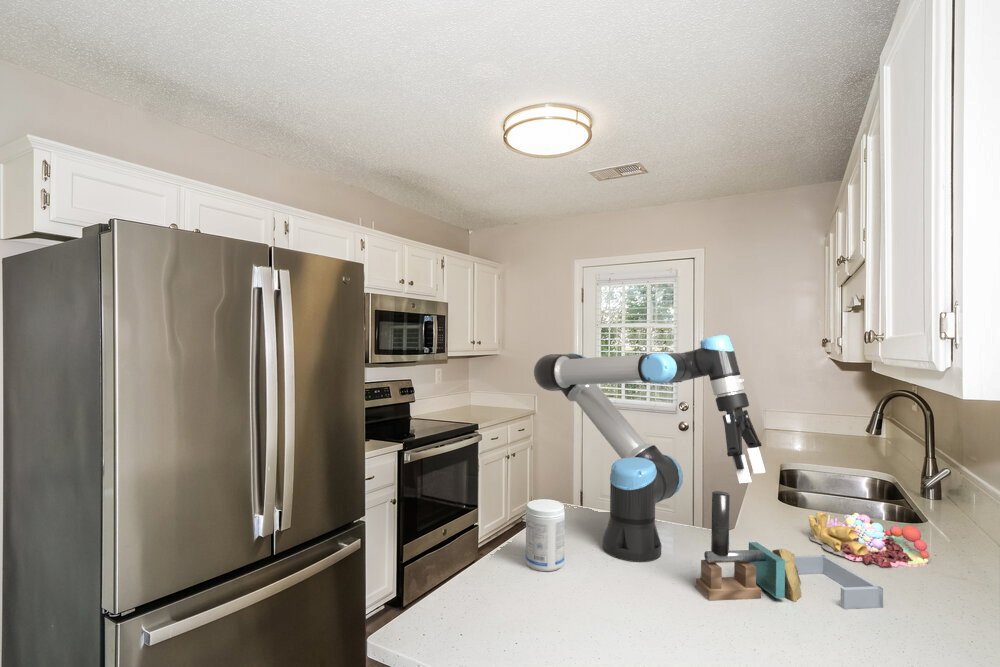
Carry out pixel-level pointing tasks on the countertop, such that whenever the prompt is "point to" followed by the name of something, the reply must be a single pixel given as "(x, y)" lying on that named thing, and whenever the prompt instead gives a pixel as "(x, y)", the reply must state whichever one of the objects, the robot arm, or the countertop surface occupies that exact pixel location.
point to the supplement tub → (545, 534)
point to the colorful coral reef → (868, 541)
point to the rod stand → (728, 582)
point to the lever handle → (764, 560)
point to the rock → (790, 575)
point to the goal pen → (843, 581)
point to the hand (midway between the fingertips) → (753, 477)
